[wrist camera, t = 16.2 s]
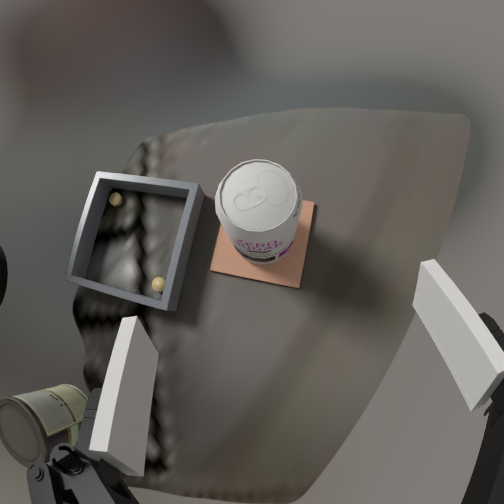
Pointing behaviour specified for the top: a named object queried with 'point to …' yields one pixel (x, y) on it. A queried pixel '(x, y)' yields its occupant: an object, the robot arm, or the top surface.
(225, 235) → the terracotta tile
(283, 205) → the supplement can
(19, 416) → the coffee can
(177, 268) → the parts tub
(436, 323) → the robot arm
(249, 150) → the top surface
